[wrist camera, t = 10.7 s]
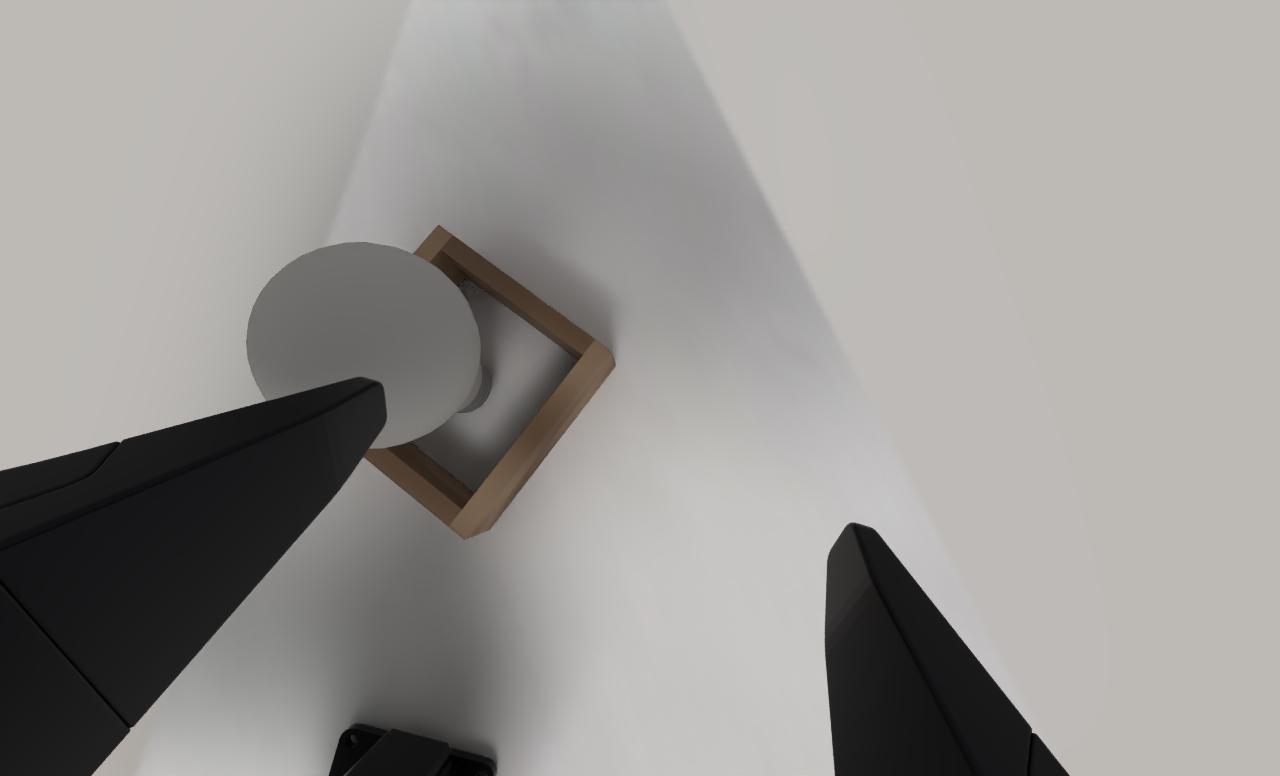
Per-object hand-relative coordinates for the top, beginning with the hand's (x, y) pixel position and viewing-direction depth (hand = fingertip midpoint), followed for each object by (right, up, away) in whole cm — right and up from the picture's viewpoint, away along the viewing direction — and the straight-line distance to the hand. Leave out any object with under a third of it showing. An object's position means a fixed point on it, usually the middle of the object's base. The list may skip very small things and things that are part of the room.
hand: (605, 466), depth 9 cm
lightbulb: (-7, +1, +14) cm, 16 cm away
